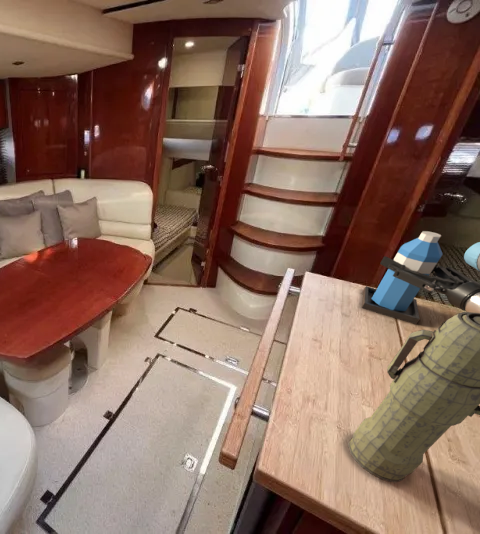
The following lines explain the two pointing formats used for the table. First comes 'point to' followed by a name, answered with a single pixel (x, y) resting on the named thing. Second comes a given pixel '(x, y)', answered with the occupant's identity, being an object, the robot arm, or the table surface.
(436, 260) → the water bottle
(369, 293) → the dark grey square tray
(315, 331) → the table surface
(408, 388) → the thermos
